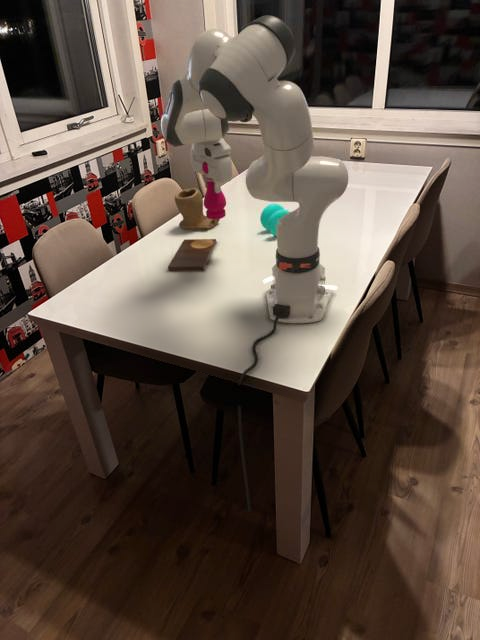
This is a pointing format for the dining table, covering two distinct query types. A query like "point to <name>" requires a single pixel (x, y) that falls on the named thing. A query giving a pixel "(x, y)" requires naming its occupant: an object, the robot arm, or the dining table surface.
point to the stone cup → (193, 209)
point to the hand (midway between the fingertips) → (213, 190)
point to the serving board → (192, 255)
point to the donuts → (272, 217)
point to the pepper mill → (213, 198)
